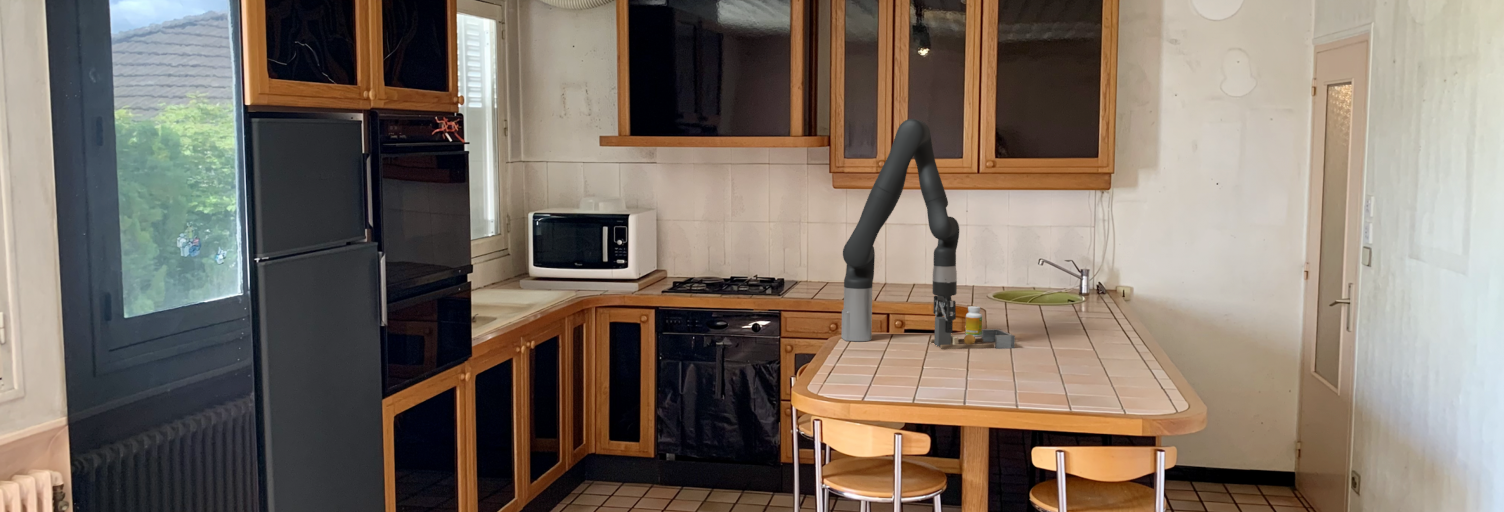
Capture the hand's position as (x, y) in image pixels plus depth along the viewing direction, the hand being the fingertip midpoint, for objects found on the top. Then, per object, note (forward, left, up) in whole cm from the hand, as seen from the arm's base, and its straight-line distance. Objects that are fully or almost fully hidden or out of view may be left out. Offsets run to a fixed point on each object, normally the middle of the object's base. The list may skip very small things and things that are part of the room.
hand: (944, 330), depth 368 cm
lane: (+6, 0, -5) cm, 8 cm away
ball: (+8, 0, -3) cm, 9 cm away
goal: (+18, 0, -5) cm, 19 cm away
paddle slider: (-1, 0, -5) cm, 5 cm away
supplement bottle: (+17, +18, -5) cm, 25 cm away
